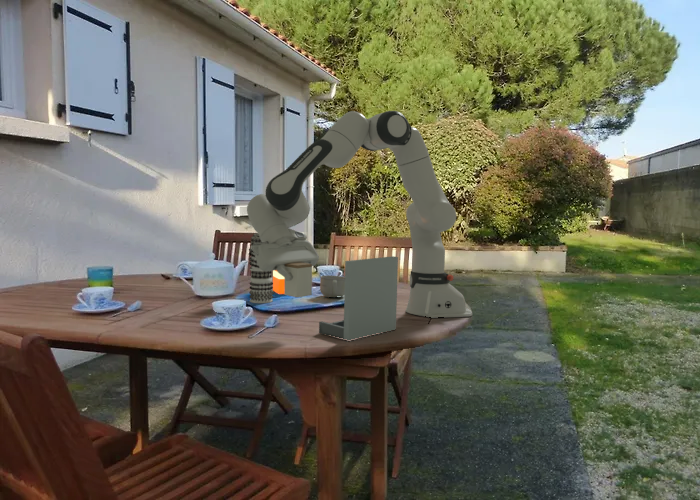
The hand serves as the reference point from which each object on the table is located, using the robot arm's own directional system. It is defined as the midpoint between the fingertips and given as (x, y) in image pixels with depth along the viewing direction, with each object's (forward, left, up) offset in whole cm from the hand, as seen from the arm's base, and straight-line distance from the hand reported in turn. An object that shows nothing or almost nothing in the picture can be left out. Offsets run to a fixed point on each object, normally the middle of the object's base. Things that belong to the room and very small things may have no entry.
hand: (299, 278), depth 159 cm
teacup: (-13, -55, -16) cm, 59 cm away
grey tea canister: (0, 0, -5) cm, 5 cm away
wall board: (-17, -2, -16) cm, 24 cm away
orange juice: (+6, -67, -16) cm, 70 cm away
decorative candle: (+14, -47, -16) cm, 52 cm away
